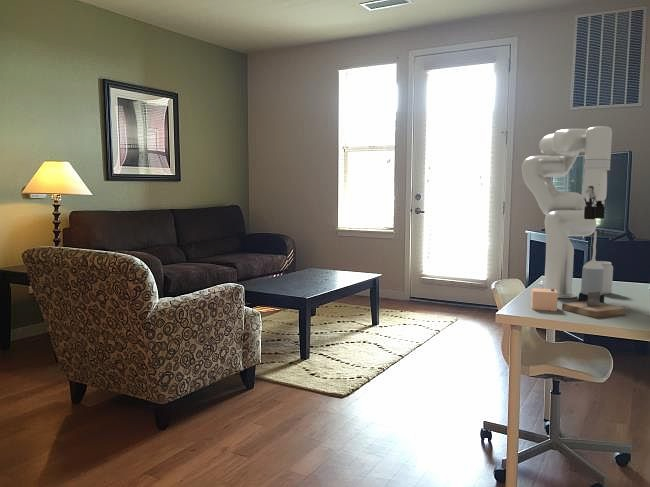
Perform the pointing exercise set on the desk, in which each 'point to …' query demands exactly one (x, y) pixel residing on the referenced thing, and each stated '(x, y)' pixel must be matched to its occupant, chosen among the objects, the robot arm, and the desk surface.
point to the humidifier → (592, 276)
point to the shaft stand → (593, 307)
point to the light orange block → (544, 299)
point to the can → (607, 277)
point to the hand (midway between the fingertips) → (594, 218)
